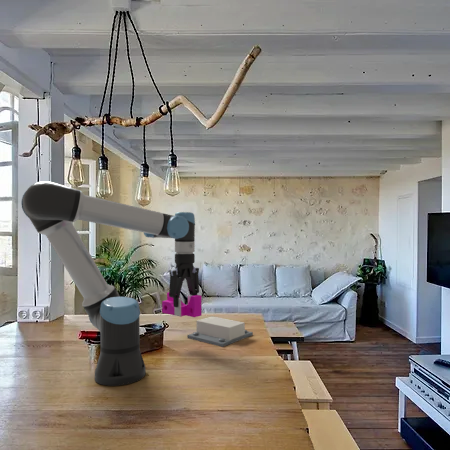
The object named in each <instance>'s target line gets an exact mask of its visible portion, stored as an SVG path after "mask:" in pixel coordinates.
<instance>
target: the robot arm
mask: <svg viewBox="0 0 450 450" xmlns="http://www.w3.org/2000/svg"><path fill="white" fill-rule="evenodd" d="M21 208H22V211H23V214H25V216H26V217H27V218H29V220H30V222H31V224H32V225H33V227H34V229H35V230H36V232H37V233H38V234H41V235H44V236H45V237H46V238H47V239H48V242H49V243H50V245H51V246H52V247H53V249H54V251H55V253H56V254H57V256H58V258H59V260H60V261H61V263H62V264H63V266H64V267H65V269H66V271H67V273H68V275H69V276H70V278H71V279H72V282H73V283H74V285H75V286H76V288H77V290H78V291H79V293H80V295H81V296H82V297H83V300H82V302H81V305H82V307H83V310H85V312H86V314H87V317H88V319H89V321H90V323H91V324H92V325H93V326H94V327H95V328H96V329H97V330H98V331H99V332H100V352H99V353H100V354H99V357H98V360H97V363H96V367H95V370H94V381H95V383H97V384H99V385H102V386H108V387H109V386H114V387H115V386H124V385H129V384H133V383H135V382H136V383H137V382H138V381H140V380H141V379H143V378H144V377H145V375H146V364H145V361H144V358H143V355H142V352H141V349H140V343H141V341H140V340H141V339H140V333H141V332H140V331H141V330H140V328H141V327H140V326H141V325H140V315H141V311H140V304H139V301H138V300H136V299H135V298H132V297H127V296H120V294H119V293H118V291H117V289H116V287H115V285H111V284H108V283H107V282H106V279H105V278H104V276H103V274H102V273H101V271H100V269H99V267H98V266H97V264H96V262H95V260H94V258H93V257H92V256H91V253H90V252H89V250H88V249H87V247H86V245H85V243H84V242H83V240H82V238H81V236H80V234H79V233H78V231H77V230H76V227H75V226H74V224H73V223H74V222H77V221H83V222H88V223H92V224H93V223H94V224H99V225H104V226H109V227H113V228H119V229H125V230H130V231H134V232H139V233H143V235H144V236H145V238H152V239H154V238H159V239H161V238H163V239H174V252H175V254H174V263H175V268H173V269H169V271H168V272H169V290H168V292H169V297H172V298H173V299H174V300H173V306H174V307H175V313H174V315H173V316H175V317H180V316H181V301H182V298H181V297H180V296H181V291H182V288H183V283H184V282H185V281H186V285H187V289H188V293H189V294H188V295H187V304H188V303H189V301H190V298H191V296H195V295H198V294H199V293H200V284H199V283H200V280H199V272H200V267H196V266H195V267H194V264H195V261H196V260H195V259H196V257H195V253H194V252H195V249H196V248H195V246H196V245H195V242H196V241H195V232H196V231H195V230H196V229H195V228H196V227H195V226H196V222H195V221H196V220H195V219H196V218H195V214H194V213H193V212H191V211H190V212H189V211H188V212H187V211H185V212H184V211H183V212H182V211H181V212H178V211H177V212H175V214H174V215H173V214H169V213H164V212H160V211H155V210H150V209H147V208H142V207H139V206H134V205H129V204H125V203H120V202H116V201H114V200H113V201H112V200H107V199H103V198H100V197H94V196H90V195H86V194H84V192H83V191H82V190H79V189H77V188H73V187H69V186H66V185H63V184H59V183H57V182H53V181H48V180H47V181H45V180H44V181H43V180H41V181H37V182H36V183H33V184H31V185H29V187H28V188H27V189H26V190H25V192H24V193H23V195H22V198H21ZM176 294H177V295H176ZM179 297H180V298H179Z"/></svg>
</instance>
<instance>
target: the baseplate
mask: <svg viewBox="0 0 450 450" xmlns="http://www.w3.org/2000/svg"><path fill="white" fill-rule="evenodd" d="M195 323H196V331H194V332H192V333H189V334H187V335H186V338H187V339H191V340H193V341H198V342H202V343H205V344H210V345H214V346H217V347H222V348H223V347H226V346H229V345H231V344H233V343H236V342H238V341H241V340H243V339H246V338H249V337H251V336H253V335H254V333H253V331H248V330H247V329H245V328H246V326H245V325H246V323H245V321H238V320H232V319H227V318H224V317H223V318H222V317H219V316H218V317H217V316H209V317H205V318H201V319H197V320H196V322H195Z"/></svg>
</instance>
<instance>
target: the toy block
mask: <svg viewBox="0 0 450 450" xmlns="http://www.w3.org/2000/svg"><path fill="white" fill-rule="evenodd" d="M176 295H177V294H176ZM202 297H203V296H202V295H200V294H197V295H195V296H191V298H190V301H189V303H188V302H187V304H185V302H183V301H182V300H181V316H179V317H180V318H182V317H184V316H185V317H192V318H198V317H202V302H203V301H202ZM179 298H181V297H179ZM173 300H174V299H173V298H172V297H169V291H168V292H166V300H162V301H161V313H162V314H166V315H171V316H175V315H174V313H175V307H174V306H173Z"/></svg>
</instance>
